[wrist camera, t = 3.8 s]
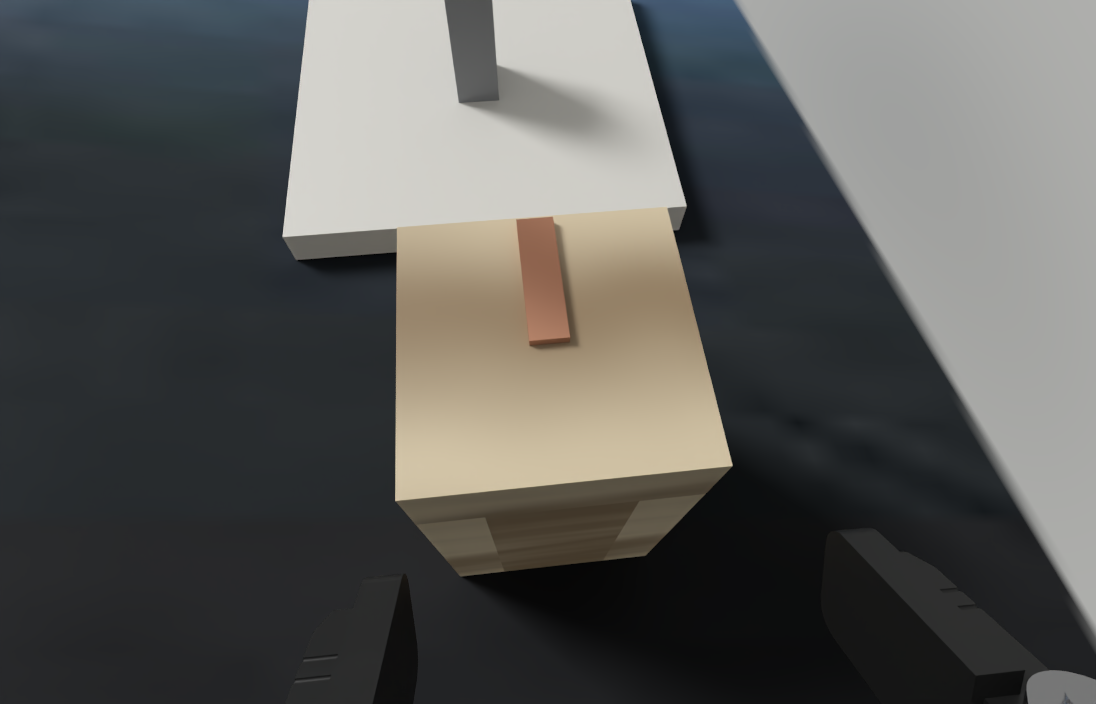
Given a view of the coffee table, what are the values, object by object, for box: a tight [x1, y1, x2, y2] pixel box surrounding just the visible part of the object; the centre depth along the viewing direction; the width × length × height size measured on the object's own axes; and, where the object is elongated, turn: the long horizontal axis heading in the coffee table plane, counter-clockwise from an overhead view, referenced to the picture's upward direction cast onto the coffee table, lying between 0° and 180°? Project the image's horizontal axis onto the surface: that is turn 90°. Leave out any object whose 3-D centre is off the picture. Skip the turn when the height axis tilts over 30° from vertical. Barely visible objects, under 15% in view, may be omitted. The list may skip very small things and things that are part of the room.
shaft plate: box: [283, 0, 687, 260], centre depth 26 cm, size 16×16×8 cm
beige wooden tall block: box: [395, 207, 733, 576], centre depth 16 cm, size 6×6×10 cm
